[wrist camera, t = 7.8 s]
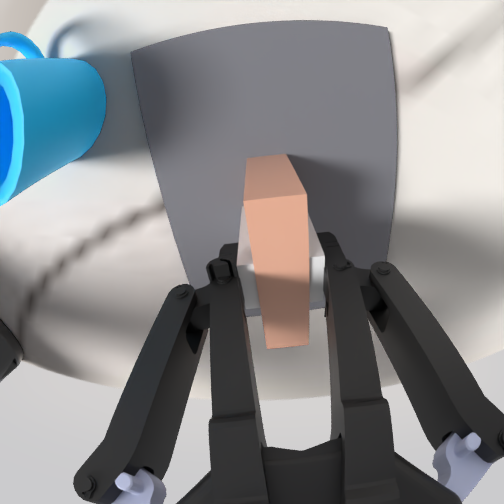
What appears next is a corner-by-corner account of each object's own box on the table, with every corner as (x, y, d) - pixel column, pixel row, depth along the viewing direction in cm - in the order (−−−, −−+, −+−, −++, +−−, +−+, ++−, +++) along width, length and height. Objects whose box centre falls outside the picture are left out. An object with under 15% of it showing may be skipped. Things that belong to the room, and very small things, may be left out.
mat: (203, 315, 24) (203, 320, 24) (134, 53, 12) (130, 52, 12) (376, 294, 23) (378, 298, 22) (383, 28, 11) (387, 27, 11)
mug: (123, 131, 15) (46, 166, 8) (49, 179, 17) (-18, 228, 10) (78, 3, 9) (3, -14, 2) (10, 65, 10) (-61, 80, 4)
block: (263, 274, 21) (267, 349, 15) (247, 158, 16) (243, 200, 10) (294, 271, 21) (308, 344, 15) (285, 153, 16) (306, 193, 10)
